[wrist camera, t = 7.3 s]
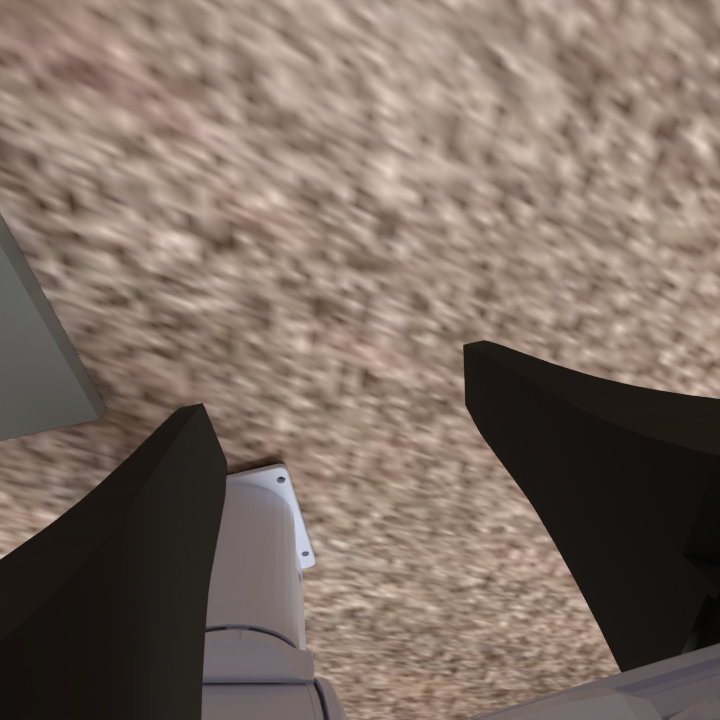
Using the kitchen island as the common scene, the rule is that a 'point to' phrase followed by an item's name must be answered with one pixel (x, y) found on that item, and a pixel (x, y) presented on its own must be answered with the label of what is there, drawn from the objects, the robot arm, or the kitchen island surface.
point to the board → (36, 356)
